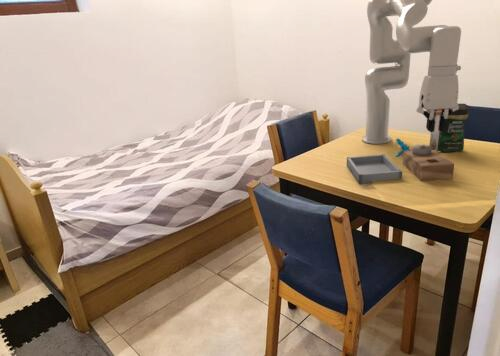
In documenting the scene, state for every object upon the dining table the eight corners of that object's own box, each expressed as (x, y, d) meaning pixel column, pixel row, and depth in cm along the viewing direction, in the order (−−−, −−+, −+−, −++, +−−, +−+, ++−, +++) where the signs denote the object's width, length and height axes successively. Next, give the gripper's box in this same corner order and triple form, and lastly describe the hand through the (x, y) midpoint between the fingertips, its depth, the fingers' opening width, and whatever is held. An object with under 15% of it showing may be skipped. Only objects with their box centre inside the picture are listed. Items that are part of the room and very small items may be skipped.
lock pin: (426, 147, 120) (430, 108, 115) (435, 147, 119) (440, 107, 115) (430, 150, 117) (434, 110, 112) (440, 149, 117) (444, 109, 112)
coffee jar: (438, 154, 142) (443, 106, 135) (433, 147, 149) (438, 102, 142) (465, 153, 139) (472, 105, 132) (459, 147, 146) (465, 101, 139)
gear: (418, 159, 134) (398, 139, 135) (404, 169, 137) (385, 150, 138) (417, 153, 144) (399, 135, 145) (405, 163, 147) (387, 145, 148)
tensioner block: (402, 166, 133) (403, 143, 130) (430, 164, 132) (432, 141, 129) (420, 183, 118) (423, 158, 115) (452, 181, 118) (455, 155, 114)
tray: (346, 165, 138) (346, 157, 137) (383, 163, 138) (384, 154, 137) (359, 184, 122) (359, 174, 120) (401, 181, 121) (402, 171, 120)
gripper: (462, 67, 112) (454, 125, 119) (409, 71, 113) (404, 129, 120) (476, 70, 105) (467, 131, 112) (419, 75, 106) (414, 136, 113)
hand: (435, 130), depth 116 cm, fingers closed on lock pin, 2 cm apart
